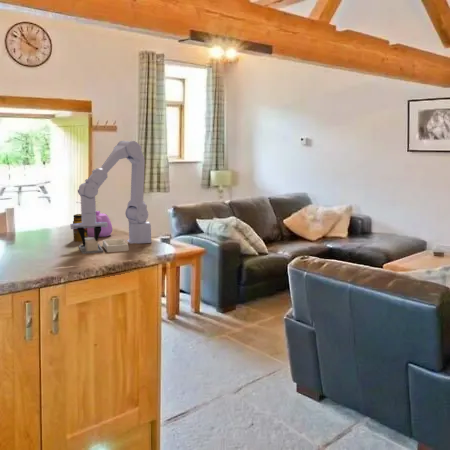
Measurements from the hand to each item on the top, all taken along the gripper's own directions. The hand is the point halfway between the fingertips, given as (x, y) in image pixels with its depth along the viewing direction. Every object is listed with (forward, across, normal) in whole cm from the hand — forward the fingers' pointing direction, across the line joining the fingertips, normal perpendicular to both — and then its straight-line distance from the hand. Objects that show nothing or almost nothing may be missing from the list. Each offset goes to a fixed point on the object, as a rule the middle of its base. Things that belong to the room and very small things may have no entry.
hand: (89, 245), depth 212 cm
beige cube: (+1, 0, +6) cm, 7 cm away
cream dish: (+2, -10, +4) cm, 11 cm away
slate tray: (+2, 0, +3) cm, 3 cm away
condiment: (+2, +3, -18) cm, 18 cm away
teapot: (+2, -7, -29) cm, 30 cm away
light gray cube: (+1, 0, 0) cm, 1 cm away
